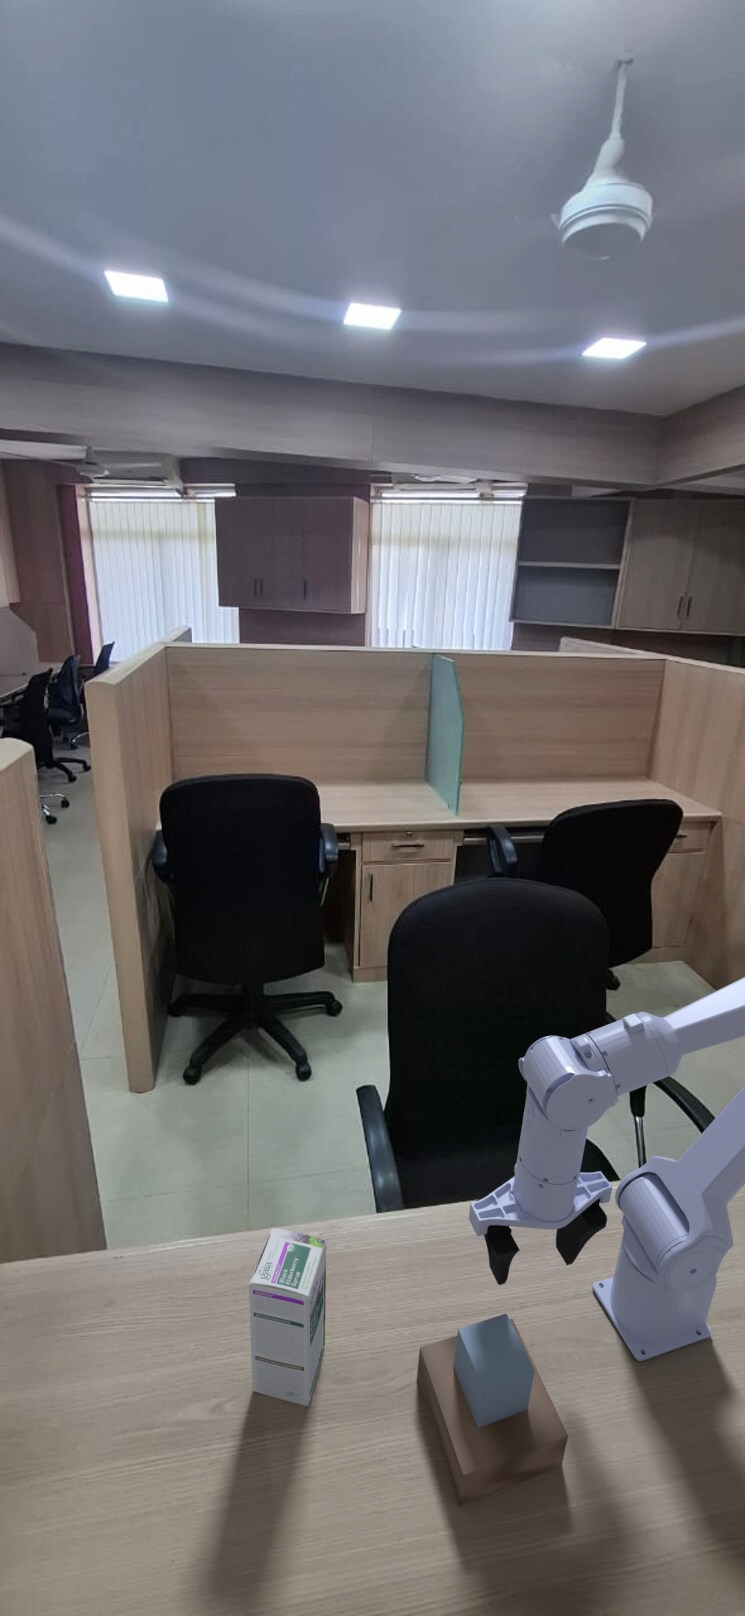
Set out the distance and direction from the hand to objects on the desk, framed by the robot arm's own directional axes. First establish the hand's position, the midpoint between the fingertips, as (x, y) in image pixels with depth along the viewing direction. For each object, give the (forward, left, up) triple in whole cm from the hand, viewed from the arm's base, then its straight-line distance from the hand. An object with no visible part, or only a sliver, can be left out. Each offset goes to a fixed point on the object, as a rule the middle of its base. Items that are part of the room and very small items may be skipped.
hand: (531, 1264), depth 65 cm
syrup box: (+24, -3, -10) cm, 26 cm away
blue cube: (+7, +6, -5) cm, 11 cm away
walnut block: (+7, +6, -9) cm, 13 cm away
